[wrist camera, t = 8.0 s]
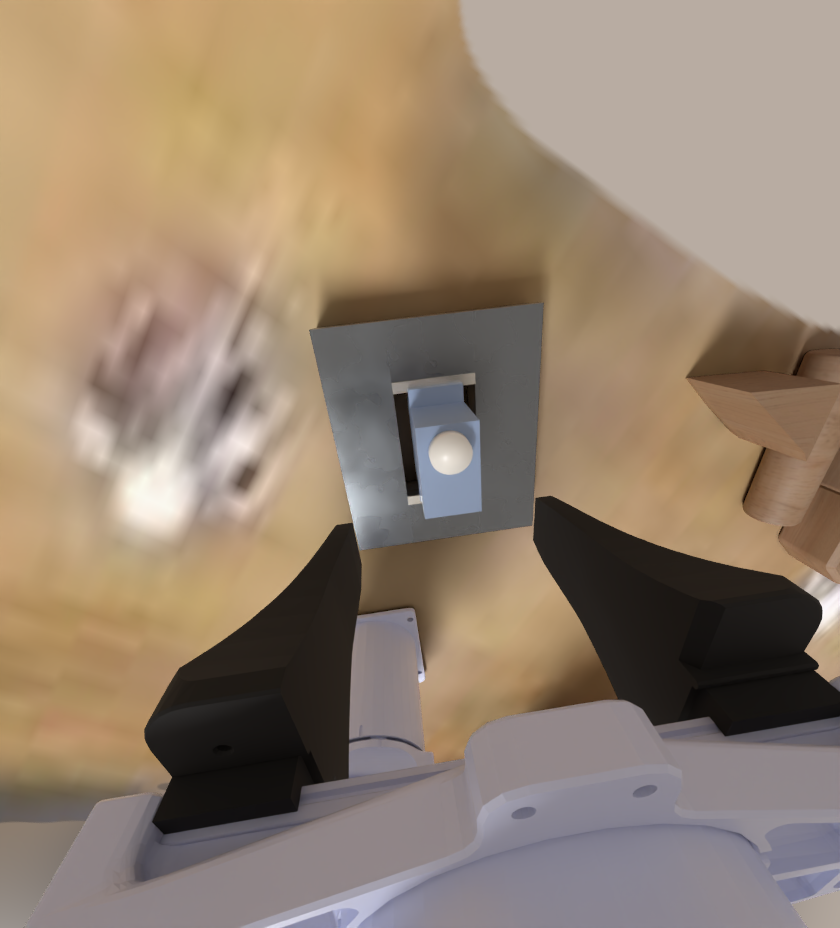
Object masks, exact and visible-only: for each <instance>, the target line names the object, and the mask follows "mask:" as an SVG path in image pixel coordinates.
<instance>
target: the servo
mask: <svg viewBox="0 0 840 928" xmlns="http://www.w3.org/2000/svg"><path fill="white" fill-rule="evenodd" d="M407 390H408V397H407V401H408V410H409V418H410V427H411V435H412V444H413V452H414V461H415V469H416V474H417V479H418V485H419V494H420V501H422V506H423V511H424V516H425V519H430V518H437V517H444V516H451V515H458V514H465V513H473V512H480V511H482V501H481V459H480V420H479V419H478V418H477V417H476V415H475V414H474V413H473V412H472V411H471V410H470V408H469V407H468V406H467V405H466V404H465V402H464V395H463V383H462V382H457V383H449V384H441V385H433V386H424V387H416V388H408V389H407Z"/></svg>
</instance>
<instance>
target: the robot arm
mask: <svg viewBox="0 0 840 928" xmlns="http://www.w3.org/2000/svg"><path fill="white" fill-rule="evenodd" d="M533 541H534V543H535V545H536V547H537V550H538V552H539V554H540V556H541V558H542V560H543V562H544V564H545V565H546V567H547V569H548V570H549V572H550V573H551V575H552V577H553V578H554V580H555V581H556V583H557V584H558V586H559V587H560V589H561V590H562V592H563V594H564V595H565V597H566V598H567V600H568V601H569V603H570V604H571V606H572V607H573V609H574V611H575V612H576V614H577V616H578V617H579V619H580V621H581V623H582V624H583V626H584V628H585V630H586V632H587V634H588V636H589V638H590V640H591V642H592V644H593V646H594V648H595V650H596V652H597V654H598V656H599V658H600V660H601V663H602V665H603V667H604V669H605V671H606V673H607V675H608V677H609V679H610V682H611V684H612V686H613V688H614V691H615V693H616V695H617V697H618V699H619V700H601V701H595V702H589V703H583V704H577V705H571V706H565V707H559V708H553V709H547V710H541V711H535V712H529V713H523V714H517V715H511V716H506V717H503V718H500V719H497V720H493V721H490V722H487V723H486V724H484V725H483V726H482V727H480V728H479V729H478V730H476V731H475V732H474V733H473V734H472V735H471V737H470V738H469V741H468V744H467V746H466V749H465V751H464V753H465V759H460V760H454V761H448V762H442V763H436V764H434V756H433V753H432V752H425V746H424V735H423V724H422V713H421V702H420V691H419V682H422V681H424V680H425V672H424V666H423V659H422V653H421V646H420V640H419V633H418V627H417V620H416V614H415V610H414V609H413V608H404V609H398V610H391V611H384V612H378V613H371V614H365V615H358V608H359V601H360V593H361V568H362V564H361V560H360V555H359V551H358V546H357V542H356V537H355V533H354V528H353V524H352V523H348V524H341V525H336V526H335V528H334V529H333V530H332V532H331V533H330V534H329V536H328V537H327V539H326V540H325V541H324V543H323V544H322V546H321V547H320V548H319V550H318V551H317V552H316V554H315V555H314V556H313V558H312V559H311V560H310V561H309V563H308V564H307V565H306V566H305V567H304V569H303V570H302V571H301V572H300V573H299V575H298V576H297V577H296V578H295V579H294V580H293V581H292V582H291V583H290V585H289V586H288V587H287V588H286V589H285V590H284V591H283V592H282V593H280V594H279V595H278V596H277V597H276V598H275V599H274V600H273V601H272V602H271V603H270V604H269V605H267V606H266V607H265V608H264V609H263V610H261V611H260V612H259V613H258V614H257V615H256V616H254V617H253V618H252V619H251V620H250V621H248V622H247V623H246V624H244V625H243V626H242V627H241V628H239V629H238V630H237V631H235V632H234V633H232V634H231V635H230V636H228V637H227V638H225V639H224V640H223V641H221V642H220V643H218V644H217V645H215V646H214V647H212V648H211V649H209V650H208V651H206V652H204V653H203V654H201V655H200V656H198V657H197V658H195V659H193V660H192V661H190V662H189V663H187V664H185V665H184V666H182V667H180V668H179V670H178V671H177V673H176V674H175V676H174V678H173V679H172V681H171V682H170V684H169V686H168V687H167V689H166V691H165V693H164V695H163V696H162V698H161V700H160V702H159V703H158V705H157V707H156V709H155V711H154V712H153V714H152V716H151V718H150V719H149V721H148V723H147V725H146V727H145V729H144V733H145V741H146V743H147V745H148V747H149V748H150V750H151V752H152V753H153V754H154V755H155V756H156V758H157V759H158V760H159V761H160V763H161V764H162V765H163V766H164V767H165V769H166V770H167V771H168V772H169V773H170V775H171V776H172V779H171V781H170V783H169V785H168V788H167V790H166V792H165V794H164V796H163V795H162V794H158V793H141V794H135V795H129V796H123V797H117V798H111V799H106V800H101V801H100V802H98V803H96V805H95V806H94V808H93V810H92V811H91V813H90V815H89V817H88V818H87V820H86V822H85V823H84V825H83V827H82V829H81V830H80V832H79V834H78V835H77V837H76V839H75V841H74V842H73V844H72V846H71V847H70V849H69V851H68V853H67V854H66V856H65V858H64V859H63V861H62V863H61V865H60V867H59V868H58V870H57V872H56V873H55V875H54V877H53V879H52V880H51V882H50V883H49V885H48V887H47V889H46V890H45V892H44V894H43V895H42V897H41V899H40V901H39V902H38V904H37V906H36V907H35V909H34V911H33V913H32V914H31V916H30V918H29V919H28V921H27V923H26V925H25V926H24V928H808V927H807V926H806V925H805V923H804V922H803V920H802V919H801V917H800V916H799V914H798V913H797V911H796V910H795V908H794V907H793V906H792V904H794V903H797V902H801V901H804V900H808V899H811V898H815V897H818V896H822V895H825V894H829V893H832V892H836V891H839V890H840V676H839V677H836V678H834V679H833V680H831V681H830V682H827V681H826V680H825V679H824V678H823V677H821V676H820V675H819V674H818V673H817V672H816V671H814V670H817V669H818V667H819V665H818V663H817V662H816V661H815V660H814V659H813V658H812V657H810V656H809V655H808V654H807V653H805V652H804V650H805V649H806V647H807V645H808V644H809V642H810V640H811V639H812V637H813V635H814V634H815V632H816V630H817V629H818V627H819V624H820V622H821V620H822V606H821V604H820V602H819V600H817V599H816V598H814V597H813V596H812V595H810V594H809V593H807V592H806V591H804V590H803V589H801V588H800V587H798V586H797V585H796V584H794V583H793V582H791V581H790V580H788V579H787V578H785V577H784V576H780V575H775V574H770V573H764V572H759V571H754V570H748V569H743V568H738V567H733V566H729V565H725V564H721V563H716V562H712V561H708V560H704V559H701V558H697V557H693V556H690V555H686V554H683V553H680V552H677V551H673V550H670V549H667V548H664V547H661V546H658V545H655V544H653V543H650V542H647V541H645V540H642V539H639V538H637V537H634V536H632V535H630V534H627V533H625V532H623V531H620V530H618V529H616V528H614V527H612V526H609V525H607V524H605V523H603V522H601V521H599V520H597V519H595V518H593V517H591V516H589V515H587V514H585V513H584V512H582V511H580V510H578V509H576V508H574V507H572V506H570V505H568V504H566V503H565V502H563V501H561V500H559V499H557V498H554V497H552V496H547V497H539V498H536V501H535V518H534V535H533ZM357 615H358V616H357Z"/></svg>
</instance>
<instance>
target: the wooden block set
mask: <svg viewBox="0 0 840 928" xmlns="http://www.w3.org/2000/svg"><path fill="white" fill-rule="evenodd" d="M686 379H687V380H688V381H689V383H690V384H691V385H692V387H693V388H694V389H695V391H696V392H697V393H698V395H699V396H700V397H701V398H702V400H703V401H704V402H705V404H706V405H707V406H708V407H709V408H710V409H711V410H712V411H713V413H714V414H715V415H716V416H717V417H718V418H719V419H720V420H721V421H722V423H723V424H724V425H725V426H726V427H727V428H728V429H729V430H730V431H731V432H732V433H734V434H735V435H736V436H738V437H739V438H742V439H744V440H747V441H750V442H752V443H755V444H758V445H761V446H763V447H766V450H765V453H764V455H763V457H762V460H761V462H760V465H759V467H758V470H757V472H756V474H755V477H754V479H753V482H752V484H751V487H750V489H749V491H748V494H747V496H746V499H745V501H744V503H743V510H744V511H745V513H746V514H748V515H749V516H751V517H753V518H754V519H757V520H759V521H762V522H765V523H768V524H772V525H777V526H783V528H782V530H781V532H780V534H779V536H778V538H779V542H780V543H781V544H782V546H783V547H784V548H785V550H786V551H787V552H788V554H789V555H791V556H792V557H794V558H795V559H797V560H799V561H800V562H802V563H804V564H805V565H807V566H809V567H810V568H812V569H814V570H815V571H817V572H818V573H820V574H822V575H823V576H825V577H827V578H828V579H830V580H832V581H833V582H835V583H838V584H840V349H818V350H813V351H809V352H807V353H806V354H805V356H804V358H803V360H802V363H801V365H800V368H799V370H798V373H797V375H796V376H793V375H787V374H781V373H775V372H769V371H754V372H743V373H732V374H720V375H709V376H698V377H687V378H686Z"/></svg>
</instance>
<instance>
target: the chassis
mask: <svg viewBox="0 0 840 928" xmlns="http://www.w3.org/2000/svg"><path fill="white" fill-rule="evenodd" d="M543 304H544V303H525V304H517V305H508V306H499V307H491V308H482V309H474V310H465V311H456V312H448V313H439V314H430V315H422V316H413V317H405V318H396V319H387V320H379V321H370V322H362V323H353V324H344V325H336V326H327V327H319V328H314V329H311V330H309V331H310V336H311V340H312V344H313V349H314V353H315V357H316V362H317V366H318V371H319V375H320V379H321V384H322V388H323V392H324V397H325V401H326V405H327V410H328V414H329V419H330V423H331V427H332V432H333V436H334V440H335V445H336V449H337V453H338V458H339V462H340V466H341V471H342V475H343V480H344V484H345V488H346V493H347V497H348V501H349V506H350V510H351V514H352V519H353V523H354V528H355V532H356V536H357V541H358V545H359V549H360V550H366V549H373V548H380V547H387V546H394V545H401V544H408V543H414V542H421V541H428V540H435V539H442V538H449V537H456V536H463V535H470V534H477V533H483V532H490V531H497V530H504V529H511V528H518V527H525V526H532V521H533V501H534V481H535V462H536V442H537V422H538V403H539V383H540V363H541V343H542V324H543ZM457 382H462V383H463V385H467V386H468V407H469V408H470V410H471V411H472V412H473V413H474V414H475V415H476V417H477V418H478V419H479V420H480V459H481V501H482V511H480V512H473V513H465V514H458V515H451V516H444V517H437V518H430V519H425V516H424V511H423V506H422V501H420V494H419V485H418V480H413V481H405V474H404V467H403V460H402V452H401V445H400V438H399V431H398V424H397V416H396V409H395V402H394V395H393V394H399V393H407V392H408V390H407V389H408V388H416V387H424V386H433V385H441V384H449V383H457Z"/></svg>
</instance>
